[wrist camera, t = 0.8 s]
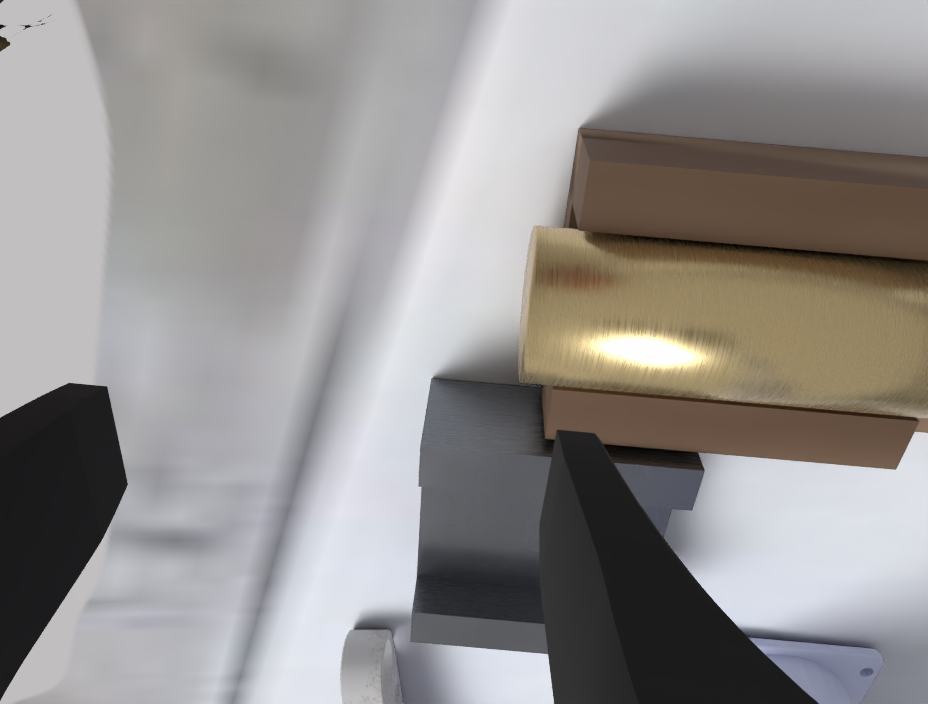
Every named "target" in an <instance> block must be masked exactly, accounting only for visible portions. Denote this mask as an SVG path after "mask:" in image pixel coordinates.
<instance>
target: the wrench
mask: <svg viewBox="0 0 928 704" xmlns="http://www.w3.org/2000/svg"><path fill="white" fill-rule="evenodd" d="M340 683H341V696H342V703H343V704H403V700H402V693H401V685H400V678H399V671H398V665H397V658H396V653H395V648H394V643H393V638H392V632H391V631H390V630H389V629H378V630H350V631H349V633H348V635H347V637H346V639H345V643H344V647H343V652H342V661H341V673H340Z"/></svg>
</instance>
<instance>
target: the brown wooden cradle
mask: <svg viewBox="0 0 928 704" xmlns="http://www.w3.org/2000/svg"><path fill="white" fill-rule="evenodd" d="M564 228H570V229H578V230H579V231H588V232H600V233H612V234H623V235H635V236H647V237H658V238H670V239H682V240H693V241H705V242H717V243H728V244H740V245H752V246H763V247H775V248H787V249H798V250H810V251H822V252H833V253H845V254H857V255H868V256H880V257H892V258H903V259H915V260H927V261H928V158H925V157H913V156H901V155H890V154H878V153H866V152H854V151H842V150H830V149H819V148H807V147H795V146H783V145H771V144H760V143H748V142H736V141H724V140H712V139H701V138H689V137H677V136H665V135H653V134H641V133H630V132H618V131H606V130H594V129H582V128H579V129H578V136H577V143H576V149H575V156H574V163H573V169H572V176H571V183H570V189H569V196H568V203H567V209H566V216H565V222H564ZM541 393H542V407H543V420H544V433H545V439H553V440H555V437H556V431H557V430H568V431H578V432H589V433H595V434H596V435H597V436H598V437H599V439H600V440H601V442H602V443H603V444H610V445H621V446H633V447H644V448H656V449H667V450H678V451H690V452H701V453H713V454H724V455H735V456H747V457H758V458H770V459H781V460H792V461H804V462H815V463H827V464H838V465H849V466H861V467H872V468H884V469H895V470H896V468H897V466H898V464H899V462H900V460H901V458H902V456H903V454H904V452H905V450H906V448H907V446H908V444H909V442H910V440H911V438H912V436H913V434H914V432H926V433H928V418H918V417H906V416H895V415H884V414H872V413H861V412H849V411H838V410H826V409H815V408H803V407H792V406H780V405H769V404H758V403H746V402H735V401H723V400H712V399H700V398H689V397H677V396H666V395H654V394H643V393H632V392H620V391H609V390H597V389H586V388H574V387H563V386H551V385H541Z"/></svg>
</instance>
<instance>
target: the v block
mask: <svg viewBox="0 0 928 704" xmlns="http://www.w3.org/2000/svg"><path fill="white" fill-rule="evenodd" d="M554 442H555V440H553V439H545V433H544V420H543V407H542V393H541V388H537V387H526V386H514V385H503V384H491V383H480V382H468V381H457V380H446V379H434V378H432V379H431V385H430V391H429V397H428V403H427V409H426V415H425V421H424V428H423V434H422V440H421V446H420V466H419V485H418V486H420V487H422V492H421V511H420V529H419V548H418V567H417V580H416V588H415V595H414V602H413V610H412V625H411V642H420V643H431V644H443V645H454V646H465V647H476V648H487V649H498V650H509V651H521V652H532V653H543V654H548V648H547V640H546V631H545V623H544V615H543V606H542V598H541V589H540V564H539V524H540V518H541V513H542V507H543V502H544V496H545V491H546V486H547V480H548V475H549V469H550V464H551V458H552V453H553V448H554ZM603 445H604V447H605V449H606V450H607V452H608V454H609V456H610V457H611V459H612V461H613V462H614V464H615V466H616V467H617V469H618V471H619V472H620V474H621V476H622V477H623V479H624V480H625V482H626V483H627V485H628V487H629V488H630V490H631V491H632V493H633V494H634V496H635V497H636V499H637V501H638V502H639V504H640V505H641V507H642V508H643V509H644V511H645V512H646V514H647V515H648V517H649V518H650V519H651V521H652V522H653V524H654V525H655V527H656V528H657V529H658V531H659V532H660V534H661V535H662V537H664V533H665V530H666V527H667V523H668V520H669V517H670V513H671V510H672V509H681V510H692V509H693V506H694V503H695V500H696V496H697V493H698V490H699V487H700V484H701V481H702V477H703V474H704V468H703V465H702V462H701V460H700V457H699V454H698V452H690V451H678V450H667V449H656V448H644V447H633V446H621V445H610V444H603Z"/></svg>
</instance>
